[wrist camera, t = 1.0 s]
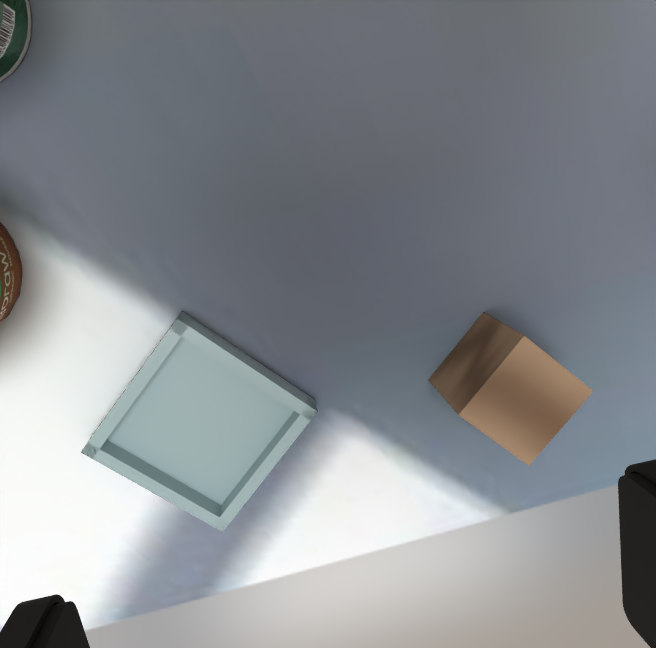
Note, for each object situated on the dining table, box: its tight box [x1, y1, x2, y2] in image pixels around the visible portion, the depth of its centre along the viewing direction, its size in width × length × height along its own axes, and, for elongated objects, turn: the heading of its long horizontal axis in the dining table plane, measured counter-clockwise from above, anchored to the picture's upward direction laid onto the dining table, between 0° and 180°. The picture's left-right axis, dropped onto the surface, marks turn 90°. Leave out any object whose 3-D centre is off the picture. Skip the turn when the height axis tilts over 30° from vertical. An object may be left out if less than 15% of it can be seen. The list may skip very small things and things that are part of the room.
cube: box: [429, 312, 593, 465], centre depth 35 cm, size 6×6×6 cm
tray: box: [81, 311, 318, 532], centre depth 35 cm, size 11×11×2 cm
